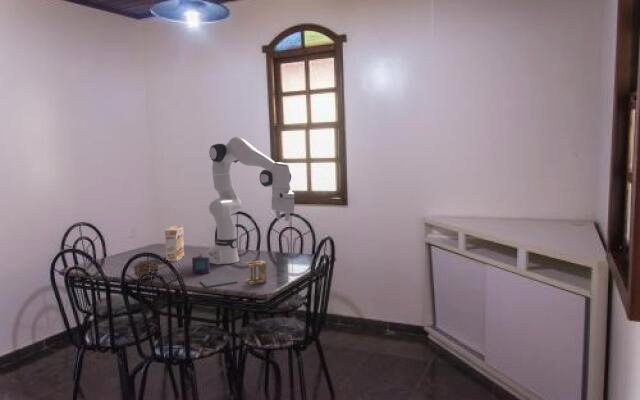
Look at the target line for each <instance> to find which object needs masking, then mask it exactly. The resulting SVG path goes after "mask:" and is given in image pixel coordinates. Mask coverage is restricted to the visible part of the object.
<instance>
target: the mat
mask: <svg viewBox="0 0 640 400" xmlns="http://www.w3.org/2000/svg"><path fill="white" fill-rule="evenodd" d="M199 283H200V284H201V285H202V286H204V287H205V288H206V289H207V288H215V287H218V286H219V287H221V286H225V285H227V286H228V285H233V284H237V283H238V280H236V279H235V278H233V277H231V276H222V277H217V278H210V279H203V280H199Z"/></svg>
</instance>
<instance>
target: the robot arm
mask: <svg viewBox="0 0 640 400" xmlns="http://www.w3.org/2000/svg"><path fill="white" fill-rule="evenodd" d="M209 158H210V160H211V161H212V170H211V171H212V180H213V187H214V189H215V191H217V193H218V196H219V198H216V199H214V200H213V201H211V202H210V203H209V205H208V211H209V213H210V214H211V215H212V217H214V221H215V224H216V234H217V235H216V236H217V238H216V239H214V240H213V242H215V244H214V245H213V246H212V247H211V248H209V249H208V250H207V251H206V257H209V262H210V263H209V264H214V265H227V264H235V263H238V262H240V257H239V254H238V238H237V229H236V228H237V225H236V224H235V223H234V221H233V218H232V215H234V214H237V213H238V212H239V211H241V209H242V207H243V203H242V201H241V199H240V198H239V197H238V195H237V193H236V190H235V187H234V182H233V176H232V175H233V174H232V173H233V172H232V168H231V165H232V163H235V164H236V163H238V162H240V163H241V164H243V165H245V166H249V167H250V166H251V167H259V168H263V170H261V171H260V174H259V182H260V184H261V185H262V186H263V187H264V188H273V189H272V192H273V195H272V197H271V210H272V211H275V215H276V219H277V220H282V215H281V213H284V214H285V217H284V221H285V222H289V221H290V215H291V214H292V213H294V212H295V199H294V198H295V197H296V195H295V193H294V192H293V191H292V190H291V186H290V182H291V181H292V174H291V172H290V168H289V167H290V166H289V164H287V163H286V162H279V161H278V162H275V160H273V159H272V158H271V157H269V156H267V155H265V154H264V153H262V152H261V151H259V150H257V148H255V147H254V146H252V145H251V144H250V143H249V142H248V141H247V140H245V139H244V138H241V137H240V136H234V137H232V138H231V139H230V140H229V141H228V142H224V143H223V142H222V143H215V144H213V145H211V146H210V149H209Z"/></svg>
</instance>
